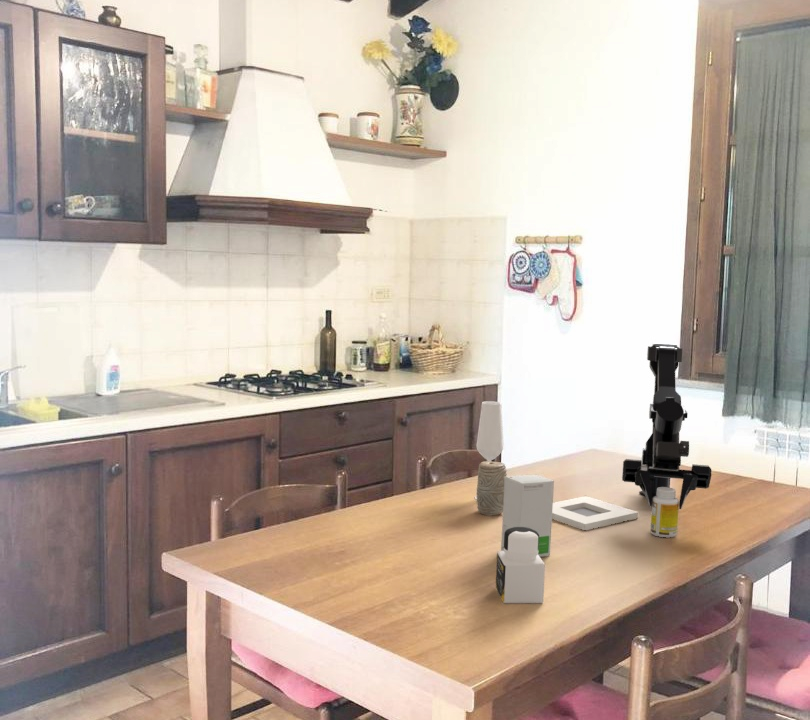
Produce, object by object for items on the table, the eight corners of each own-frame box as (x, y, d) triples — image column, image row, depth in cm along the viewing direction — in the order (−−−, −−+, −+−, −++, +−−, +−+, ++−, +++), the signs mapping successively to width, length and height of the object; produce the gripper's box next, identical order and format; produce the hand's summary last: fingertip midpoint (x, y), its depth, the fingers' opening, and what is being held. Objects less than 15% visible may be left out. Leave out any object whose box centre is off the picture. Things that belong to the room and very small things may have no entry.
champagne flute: (505, 497, 219) (510, 402, 216) (493, 503, 213) (497, 406, 210) (481, 493, 222) (485, 399, 220) (469, 498, 217) (473, 402, 214)
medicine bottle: (495, 588, 158) (497, 523, 157) (534, 588, 158) (537, 523, 157) (502, 604, 151) (505, 536, 149) (543, 603, 151) (547, 536, 150)
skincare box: (517, 561, 173) (521, 483, 171) (498, 551, 178) (502, 476, 177) (552, 555, 176) (555, 480, 175) (532, 545, 182) (536, 472, 181)
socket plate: (585, 502, 217) (586, 496, 217) (637, 518, 204) (638, 512, 204) (533, 512, 206) (533, 506, 206) (584, 530, 194) (585, 524, 193)
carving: (469, 513, 205) (471, 462, 203) (489, 507, 210) (491, 458, 209) (491, 519, 200) (493, 467, 199) (511, 513, 206) (513, 462, 204)
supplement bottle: (681, 535, 192) (684, 490, 191) (666, 540, 189) (669, 493, 188) (659, 529, 196) (662, 484, 195) (645, 533, 193) (647, 488, 192)
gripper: (625, 423, 196) (622, 483, 186) (713, 429, 192) (715, 491, 182) (623, 451, 204) (620, 509, 195) (707, 457, 200) (709, 518, 191)
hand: (665, 506), depth 190 cm, fingers open, 6 cm apart
